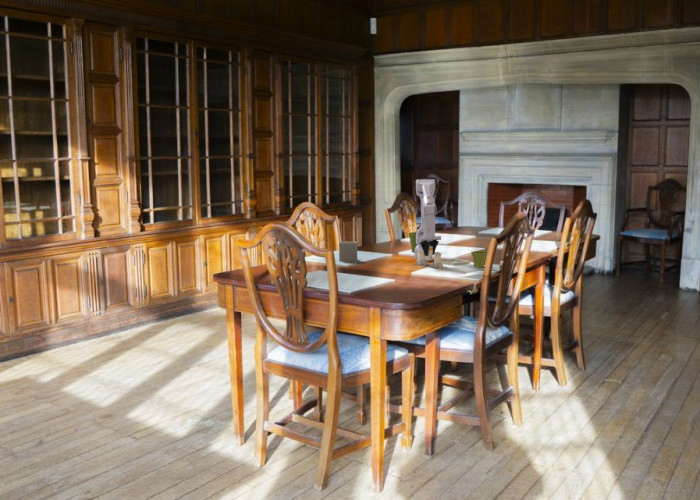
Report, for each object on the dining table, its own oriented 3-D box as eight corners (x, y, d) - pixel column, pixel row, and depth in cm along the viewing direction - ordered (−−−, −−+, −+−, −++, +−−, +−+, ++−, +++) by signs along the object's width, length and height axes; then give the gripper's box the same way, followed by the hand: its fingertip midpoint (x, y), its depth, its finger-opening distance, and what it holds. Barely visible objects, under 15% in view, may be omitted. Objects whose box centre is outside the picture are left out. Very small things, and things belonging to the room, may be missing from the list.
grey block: (352, 262, 387) (352, 244, 386) (336, 261, 392) (335, 243, 390) (363, 259, 399) (362, 241, 398) (346, 258, 403) (346, 240, 402)
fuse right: (432, 267, 358) (432, 253, 358) (437, 266, 361) (437, 252, 360) (437, 268, 356) (437, 254, 355) (442, 267, 358) (442, 253, 357)
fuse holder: (411, 267, 369) (411, 260, 368) (421, 265, 373) (421, 259, 372) (437, 271, 353) (437, 264, 353) (447, 270, 358) (447, 263, 357)
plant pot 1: (427, 250, 430) (427, 231, 428) (427, 253, 418) (427, 234, 417) (407, 250, 431) (407, 231, 430) (407, 253, 420) (407, 234, 418)
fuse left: (416, 264, 368) (416, 250, 367) (421, 263, 370) (421, 250, 369) (420, 265, 365) (421, 251, 364) (426, 264, 367) (426, 250, 366)
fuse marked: (424, 260, 363) (424, 246, 362) (429, 259, 365) (429, 245, 364) (429, 260, 360) (429, 246, 359) (434, 260, 362) (434, 246, 361)
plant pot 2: (475, 271, 354) (476, 253, 352) (467, 268, 363) (467, 251, 361) (493, 270, 356) (493, 253, 355) (484, 267, 365) (485, 250, 364)
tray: (436, 265, 373) (436, 260, 373) (453, 263, 380) (453, 258, 380) (453, 268, 363) (453, 263, 363) (470, 265, 370) (470, 260, 370)
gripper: (424, 230, 353) (423, 257, 355) (445, 228, 361) (445, 254, 363) (414, 229, 359) (414, 256, 360) (435, 226, 367) (435, 253, 369)
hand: (429, 255), depth 362 cm, fingers closed on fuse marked, 3 cm apart
